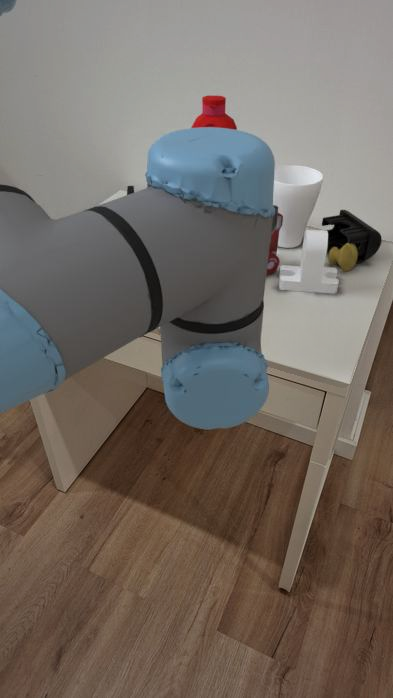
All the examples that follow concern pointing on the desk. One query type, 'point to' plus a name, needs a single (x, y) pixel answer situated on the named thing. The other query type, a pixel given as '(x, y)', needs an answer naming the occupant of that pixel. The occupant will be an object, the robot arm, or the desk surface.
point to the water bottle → (214, 114)
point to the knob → (344, 256)
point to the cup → (295, 200)
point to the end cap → (352, 235)
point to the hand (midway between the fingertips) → (185, 194)
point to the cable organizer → (310, 267)
